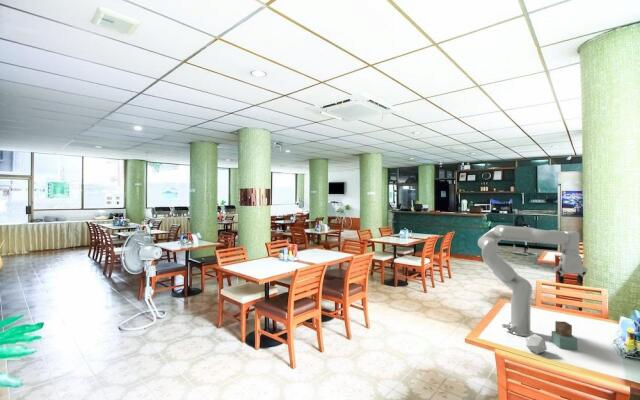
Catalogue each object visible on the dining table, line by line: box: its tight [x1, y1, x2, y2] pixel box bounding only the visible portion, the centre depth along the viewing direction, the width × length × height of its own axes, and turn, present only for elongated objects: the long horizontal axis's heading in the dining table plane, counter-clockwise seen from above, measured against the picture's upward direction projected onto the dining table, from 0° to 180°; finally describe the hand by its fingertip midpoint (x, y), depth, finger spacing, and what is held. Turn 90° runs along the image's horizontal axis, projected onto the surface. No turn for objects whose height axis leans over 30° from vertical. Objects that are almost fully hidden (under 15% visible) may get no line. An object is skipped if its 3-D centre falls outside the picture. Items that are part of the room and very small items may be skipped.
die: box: [524, 333, 547, 355], centre depth 159 cm, size 8×9×10 cm
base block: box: [551, 330, 578, 351], centre depth 166 cm, size 8×8×6 cm
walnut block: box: [554, 320, 573, 337], centre depth 167 cm, size 5×5×6 cm
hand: (570, 283), depth 178 cm, fingers open, 9 cm apart
